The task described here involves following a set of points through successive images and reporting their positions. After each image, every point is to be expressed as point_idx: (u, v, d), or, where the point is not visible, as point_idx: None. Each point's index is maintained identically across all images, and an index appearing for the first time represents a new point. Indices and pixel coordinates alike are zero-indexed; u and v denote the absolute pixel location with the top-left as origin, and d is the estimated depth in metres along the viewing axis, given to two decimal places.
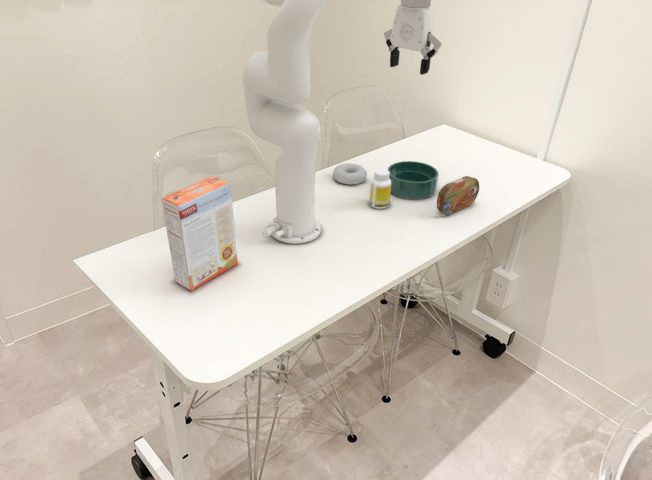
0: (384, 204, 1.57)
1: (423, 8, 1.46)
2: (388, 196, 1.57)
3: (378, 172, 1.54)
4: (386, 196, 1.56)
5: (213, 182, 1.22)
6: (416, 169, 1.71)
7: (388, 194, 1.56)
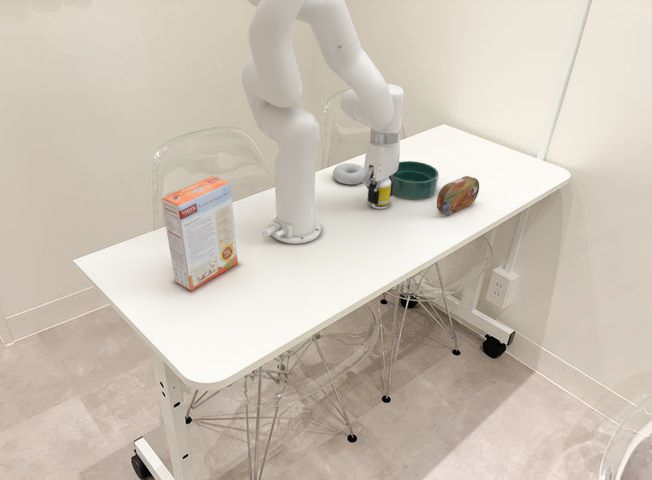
0: (384, 204, 1.57)
1: (372, 141, 1.48)
2: (388, 196, 1.57)
3: None
4: (386, 196, 1.56)
5: (213, 182, 1.22)
6: (416, 169, 1.71)
7: (388, 194, 1.56)
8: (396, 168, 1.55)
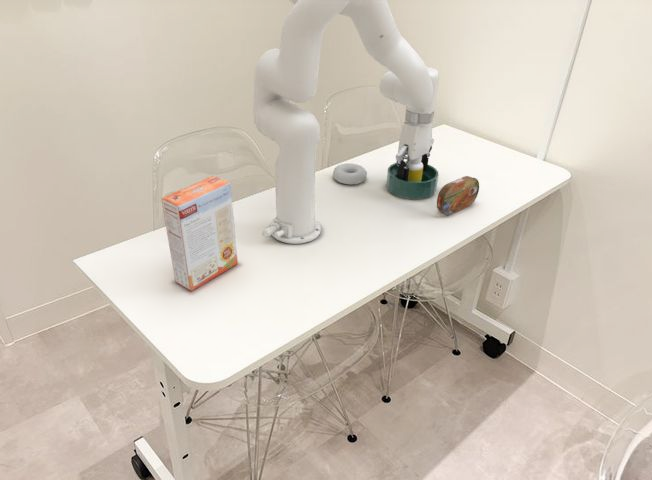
0: None
1: (407, 121, 1.55)
2: (420, 179, 1.65)
3: None
4: (418, 178, 1.64)
5: (213, 182, 1.22)
6: None
7: (420, 177, 1.64)
8: (428, 148, 1.62)
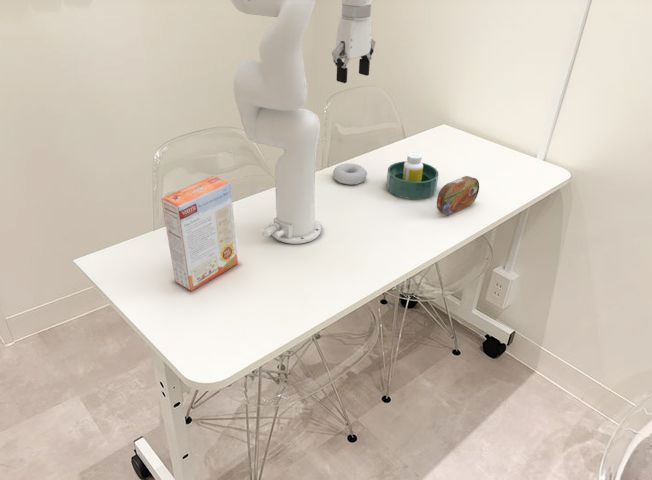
0: None
1: (343, 16, 1.50)
2: (420, 179, 1.65)
3: (411, 155, 1.62)
4: (418, 178, 1.64)
5: (213, 182, 1.22)
6: None
7: (420, 177, 1.64)
8: (368, 49, 1.57)
